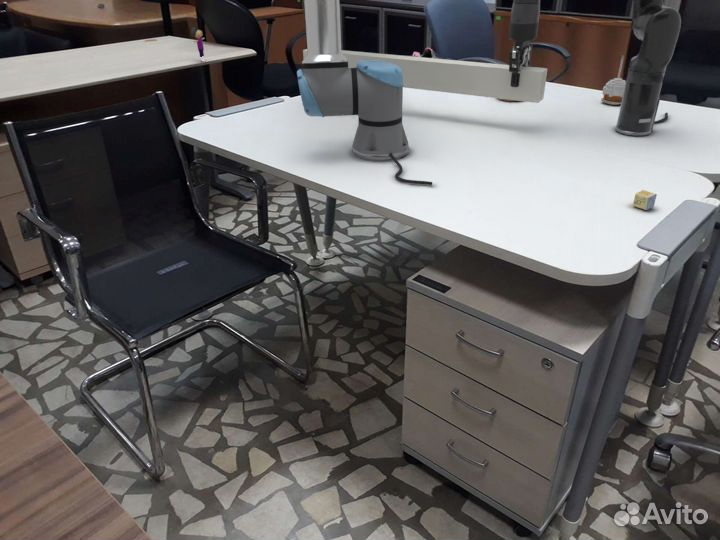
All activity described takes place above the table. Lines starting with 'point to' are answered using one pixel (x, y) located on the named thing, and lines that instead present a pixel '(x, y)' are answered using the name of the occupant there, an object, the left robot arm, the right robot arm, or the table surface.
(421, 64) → the bar
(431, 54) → the running shoe
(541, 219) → the table surface
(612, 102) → the decorative ornament
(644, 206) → the alphabet block
